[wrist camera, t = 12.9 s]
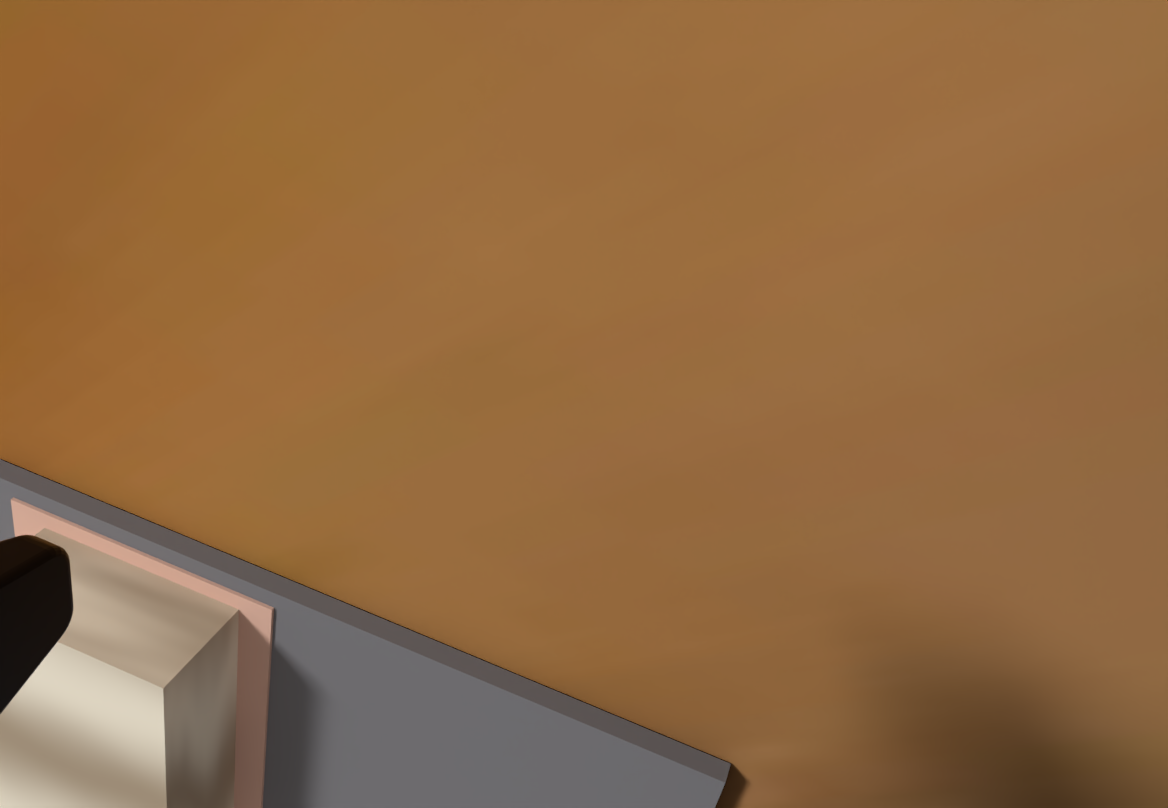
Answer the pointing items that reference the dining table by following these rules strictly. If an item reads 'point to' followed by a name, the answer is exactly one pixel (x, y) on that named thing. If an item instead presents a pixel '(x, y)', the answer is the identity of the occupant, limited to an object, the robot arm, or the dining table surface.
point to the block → (126, 697)
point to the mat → (378, 694)
